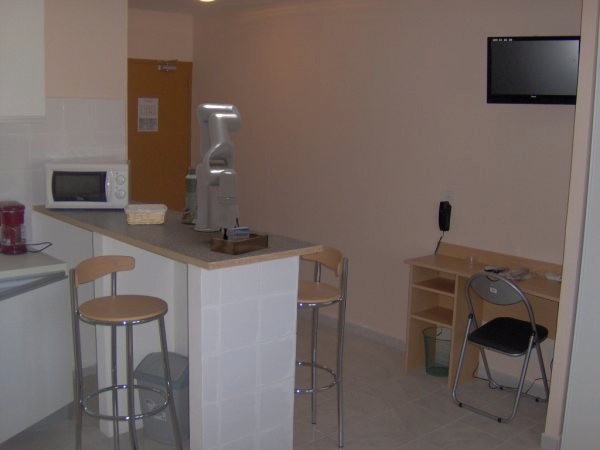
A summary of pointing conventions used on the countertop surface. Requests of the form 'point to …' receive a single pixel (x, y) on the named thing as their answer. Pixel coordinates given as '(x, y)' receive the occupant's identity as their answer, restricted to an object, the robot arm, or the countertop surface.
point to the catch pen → (240, 244)
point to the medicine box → (238, 234)
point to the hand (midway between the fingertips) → (227, 244)
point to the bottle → (190, 198)
